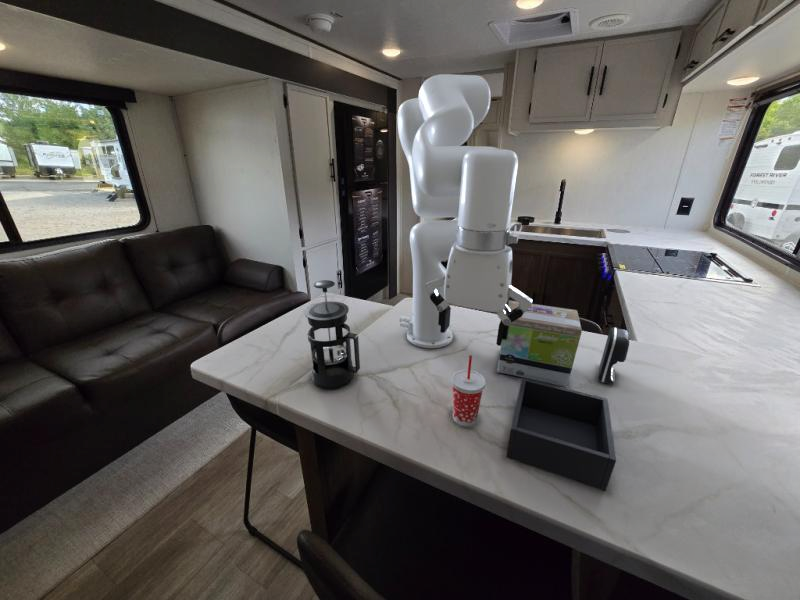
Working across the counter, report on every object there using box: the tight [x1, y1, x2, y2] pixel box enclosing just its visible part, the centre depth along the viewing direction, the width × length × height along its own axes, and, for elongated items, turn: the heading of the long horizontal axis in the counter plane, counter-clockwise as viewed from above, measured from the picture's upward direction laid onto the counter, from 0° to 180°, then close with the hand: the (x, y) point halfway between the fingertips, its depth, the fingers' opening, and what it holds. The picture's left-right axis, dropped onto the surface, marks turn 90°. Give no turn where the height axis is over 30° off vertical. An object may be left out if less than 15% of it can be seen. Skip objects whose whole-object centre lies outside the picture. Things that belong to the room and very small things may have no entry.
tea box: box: [497, 300, 583, 388], centre depth 77 cm, size 15×10×15 cm, turn 70°
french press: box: [304, 279, 361, 391], centre depth 72 cm, size 12×9×23 cm
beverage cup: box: [450, 354, 487, 427], centre depth 62 cm, size 6×6×14 cm
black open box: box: [505, 377, 617, 492], centre depth 59 cm, size 15×15×6 cm
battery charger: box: [597, 327, 630, 385], centre depth 74 cm, size 7×4×11 cm, turn 149°
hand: (471, 335), depth 59 cm, fingers open, 9 cm apart
